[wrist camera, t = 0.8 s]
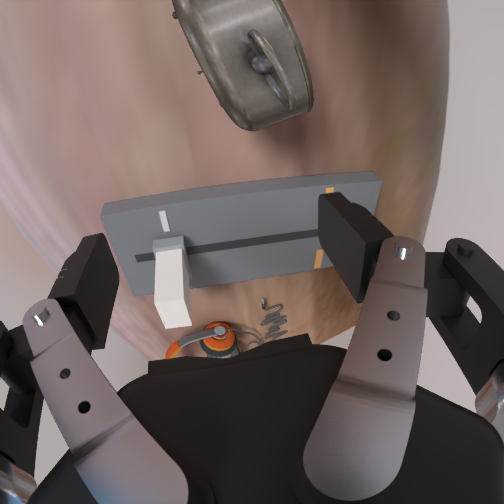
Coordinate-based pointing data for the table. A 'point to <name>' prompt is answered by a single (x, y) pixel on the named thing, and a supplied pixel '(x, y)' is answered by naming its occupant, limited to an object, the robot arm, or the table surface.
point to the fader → (172, 282)
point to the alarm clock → (249, 58)
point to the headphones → (223, 338)
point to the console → (232, 227)
